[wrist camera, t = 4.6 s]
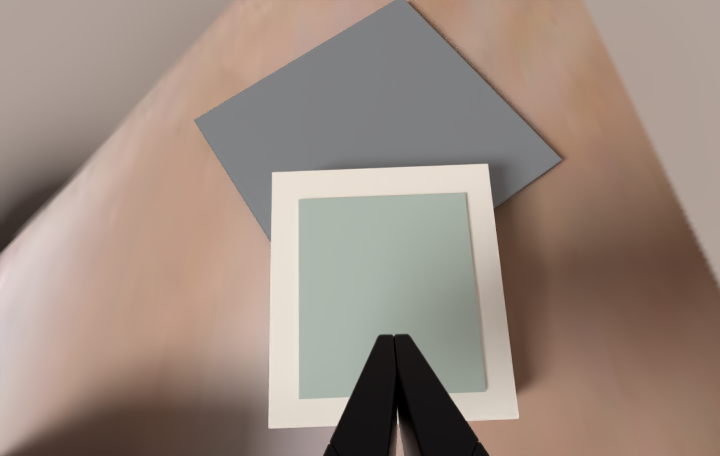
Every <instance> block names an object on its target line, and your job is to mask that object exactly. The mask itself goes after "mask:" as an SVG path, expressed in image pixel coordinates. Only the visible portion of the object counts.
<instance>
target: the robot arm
mask: <svg viewBox="0 0 720 456" xmlns="http://www.w3.org/2000/svg"><path fill="white" fill-rule="evenodd" d="M397 411H398V421H399V427H400V433H401V439H402V444H403V450H404V456H489V454H488V453H487V451H486V450H485V448H484V447H483V445H482V444H481V443H480V442H478V441H479V440H478V438H477V436H476V435H475V433H474V432H473V430H472V429H471V427H470V426H469V424H468V423H467V421H466V420H465V418H464V417H463V415H462V413H461V412H460V410H459V409H458V407H457V406H456V404H455V403H454V401H453V400H452V398H451V397H450V395H449V394H448V392H447V391H446V389H445V388H444V386H443V385H442V383H441V382H440V380H439V379H438V377H437V375H436V374H435V372H434V371H433V369H432V368H431V366H430V365H429V363H428V362H427V360H426V359H425V357H424V356H423V354H422V353H421V351H420V350H419V348H418V347H417V345H416V344H415V342H414V341H413V339H412V337H411V336H410V335H409V334H395V335H394V336H393V335H392V334H380V335H378V337H377V339H376V341H375V343H374V345H373V347H372V350H371V352H370V354H369V356H368V358H367V361H366V363H365V365H364V367H363V369H362V372H361V374H360V376H359V378H358V380H357V383H356V385H355V387H354V389H353V391H352V394H351V396H350V398H349V400H348V402H347V405H346V407H345V409H344V411H343V413H342V416H341V418H340V420H339V422H338V424H337V427H336V429H335V431H334V433H333V435H332V438H331V440H330V444H328V446H327V448H326V450H325V453H324V455H323V456H396V442H397Z"/></svg>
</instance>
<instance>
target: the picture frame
mask: <svg viewBox="0 0 720 456" xmlns="http://www.w3.org/2000/svg"><path fill="white" fill-rule="evenodd" d="M380 334H392V335H393V336H394V335H395V334H409V335H410V336H411V337H412V339H413V341H414V342H415V344H416V345H417V347H418V348H419V350H420V351H421V353H422V354H423V356H424V357H425V359H426V360H427V362H428V363H429V365H430V366H431V368H432V369H433V371H434V372H435V374H436V375H437V377H438V379H439V380H440V382H441V383H442V385H443V386H444V388H445V389H446V391H447V392H448V394H449V395H450V397H451V398H452V400H453V401H454V403H455V404H456V406H457V407H458V409H459V410H460V412H461V413H462V415H463V417H464V418H465V420H466V421H476V420H501V419H519V414H518V406H517V398H516V390H515V382H514V373H513V365H512V357H511V349H510V341H509V333H508V324H507V316H506V308H505V300H504V292H503V284H502V275H501V267H500V259H499V251H498V243H497V235H496V226H495V218H494V210H493V202H492V194H491V186H490V177H489V169H488V164H468V165H442V166H417V167H392V168H367V169H342V170H317V171H292V172H272V212H271V281H270V349H269V418H268V429H273V428H298V427H324V426H337V424H338V422H339V420H340V418H341V416H342V413H343V411H344V409H345V407H346V405H347V402H348V400H349V398H350V396H351V394H352V391H353V389H354V387H355V385H356V383H357V380H358V378H359V376H360V374H361V372H362V369H363V367H364V365H365V363H366V361H367V358H368V356H369V354H370V352H371V350H372V347H373V345H374V343H375V341H376V339H377V337H378V335H380ZM397 424H399V421H398V411H397Z"/></svg>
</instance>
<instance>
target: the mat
mask: <svg viewBox="0 0 720 456" xmlns="http://www.w3.org/2000/svg"><path fill="white" fill-rule="evenodd" d="M194 121H195V123H196V124H197V126H198V128H199V129H200V131H201V132H202V134H203V135H204V137H205V139H206V140H207V142H208V143H209V145H210V147H211V148H212V150H213V151H214V153H215V155H216V156H217V158H218V159H219V161H220V163H221V164H222V166H223V167H224V169H225V170H226V172H227V174H228V175H229V177H230V178H231V180H232V182H233V183H234V185H235V186H236V188H237V190H238V191H239V193H240V194H241V196H242V198H243V199H244V201H245V202H246V204H247V205H248V207H249V209H250V210H251V212H252V213H253V215H254V217H255V218H256V220H257V221H258V223H259V225H260V226H261V228H262V229H263V231H264V233H265V234H266V236H267V237H268V239H269V240H270V242H271V212H272V172H292V171H317V170H342V169H367V168H392V167H417V166H442V165H468V164H488V169H489V177H490V186H491V194H492V202H493V210H494V209H495V208H497V207H498V206H499V205H501V204H502V203H504V202H505V201H506V200H508V199H509V198H511V197H512V196H514V195H515V194H516V193H518V192H519V191H521V190H522V189H523V188H525V187H526V186H528V185H529V184H531V183H532V182H533V181H535V180H536V179H538V178H539V177H540V176H542V175H543V174H545V173H546V172H548V171H549V170H550V169H552V168H553V167H555V166H556V165H557V164H558V163H559V162H560V161H561V160H562V159H561V158H560V157H559V156H558V155H557V154H556V153H555V152H554V151H553V150H552V149H551V148H550V147H549V146H548V145H547V144H546V143H545V142H544V141H543V140H542V139H541V138H540V137H539V136H538V135H537V134H536V133H535V131H534V130H533V129H532V128H531V127H530V126H529V125H528V124H527V123H526V122H525V121H524V120H523V119H522V118H521V117H520V116H519V115H518V114H517V113H516V112H515V111H514V110H513V109H512V108H511V107H510V106H509V105H508V104H507V103H506V102H505V101H504V100H503V99H502V98H501V97H500V96H499V95H498V94H497V93H496V92H495V91H494V90H493V89H492V88H491V87H490V86H489V85H488V84H487V83H486V82H485V81H484V80H483V79H482V78H481V77H480V76H479V75H478V73H477V72H476V71H475V70H474V69H473V68H472V67H471V66H470V65H469V64H468V63H467V62H466V61H465V60H464V59H463V58H462V57H461V56H460V55H459V54H458V53H457V52H456V51H455V50H454V49H453V48H452V47H451V46H450V45H449V44H448V43H447V42H446V41H445V40H444V39H443V38H442V37H441V36H440V35H439V34H438V33H437V32H436V31H435V30H434V29H433V28H432V27H431V26H430V25H429V24H428V23H427V22H426V21H425V20H424V19H423V18H422V17H421V15H420V14H419V13H418V12H417V11H416V10H415V9H414V8H413V7H412V6H411V5H410V4H409V3H408V2H407V1H406V0H394V1H393V2H391V3H389V4H388V5H386V6H384V7H383V8H381V9H379V10H378V11H376V12H374V13H373V14H371V15H369V16H368V17H366V18H364V19H363V20H361V21H359V22H358V23H356V24H354V25H353V26H351V27H349V28H347V29H346V30H344V31H342V32H341V33H339V34H337V35H336V36H334V37H332V38H331V39H329V40H327V41H326V42H324V43H322V44H321V45H319V46H317V47H316V48H314V49H312V50H311V51H309V52H307V53H306V54H304V55H302V56H301V57H299V58H297V59H296V60H294V61H292V62H290V63H289V64H287V65H285V66H284V67H282V68H280V69H279V70H277V71H275V72H274V73H272V74H270V75H269V76H267V77H265V78H264V79H262V80H260V81H259V82H257V83H255V84H254V85H252V86H250V87H249V88H247V89H245V90H244V91H242V92H240V93H239V94H237V95H235V96H234V97H232V98H230V99H228V100H227V101H225V102H223V103H222V104H220V105H218V106H217V107H215V108H213V109H212V110H210V111H208V112H207V113H205V114H203V115H202V116H200V117H198V118H197V119H195V120H194Z"/></svg>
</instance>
